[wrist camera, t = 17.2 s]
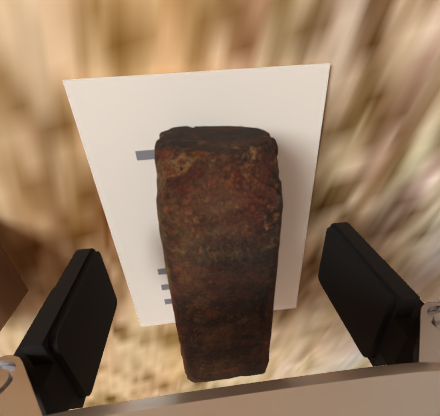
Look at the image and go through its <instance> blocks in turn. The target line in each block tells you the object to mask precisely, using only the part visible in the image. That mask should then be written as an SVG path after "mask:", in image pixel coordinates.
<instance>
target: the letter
mask: <svg viewBox="0 0 440 416" xmlns="http://www.w3.org/2000/svg"><path fill="white" fill-rule="evenodd" d="M329 70H330V63H324V64H308V65H292V66H276V67H260V68H244V69H228V70H212V71H196V72H180V73H164V74H148V75H132V76H116V77H100V78H84V79H68V80H63V84H64V87H65V90H66V93H67V96H68V99H69V102H70V106H71V109H72V112H73V115H74V118H75V121H76V124H77V128H78V131H79V134H80V137H81V140H82V143H83V146H84V150H85V153H86V156H87V159H88V162H89V165H90V168H91V171H92V175H93V178H94V181H95V184H96V187H97V190H98V193H99V197H100V200H101V203H102V206H103V209H104V212H105V215H106V219H107V222H108V225H109V228H110V231H111V234H112V237H113V241H114V244H115V247H116V250H117V253H118V256H119V259H120V262H121V266H122V269H123V272H124V275H125V278H126V281H127V284H128V288H129V291H130V294H131V297H132V300H133V303H134V306H135V310H136V313H137V316H138V319H139V322H140V325H141V327H144V326H152V325H160V324H168V323H176V322H175V316H174V311H173V306H172V300H171V294H170V289H169V283H168V277H167V273H166V268H165V261H164V253H163V247H162V242H161V238H160V232H159V221H158V216H157V205H156V197H157V182H156V180H157V172H156V166H155V160H154V157H155V148H154V147H155V143H156V141H157V140H158V139H159V134H160V133H161V132H163V131H166V130H169V129H171V128H173V127H180V126H189V127H192V128H194V127H195V126H243V127H252V128H259V129H263V130H265V131H266V132H268V133H269V134H270V137H272V138H274V139H275V140H276V142H277V145H278V155H277V160H278V169H279V179H280V180H281V184H282V198H283V211H282V225H281V233H280V245H279V253H278V268H277V277H276V287H275V296H274V309H273V311H274V310H282V309H290V308H296V304H297V297H298V290H299V283H300V276H301V269H302V262H303V255H304V248H305V240H306V233H307V226H308V219H309V212H310V205H311V198H312V191H313V184H314V177H315V170H316V162H317V155H318V148H319V141H320V134H321V127H322V120H323V113H324V106H325V99H326V92H327V84H328V77H329Z"/></svg>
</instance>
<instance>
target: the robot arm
mask: <svg viewBox="0 0 440 416" xmlns="http://www.w3.org/2000/svg"><path fill="white" fill-rule="evenodd" d="M318 277H319V281H320V284H321V285H322V287H323V289H324V290H325V292H326V294H327V296H328V297H329V299H330V301H331V302H332V304H333V306H334V308H335V309H336V311H337V313H338V314H339V316H340V318H341V320H342V321H343V323H344V325H345V326H346V328H347V330H348V332H349V333H350V335H351V337H352V338H353V340H354V342H355V344H356V345H357V347H358V349H359V350H360V352H361V354H362V355H363V356H364V357H368V359H369V361H370V362H371V364H372V366H373V367H367V368H359V369H351V370H344V371H336V372H329V373H321V374H314V375H306V376H299V377H292V378H284V379H277V380H270V381H263V382H256V383H249V384H241V385H234V386H227V387H220V388H213V389H206V390H199V391H192V392H185V393H178V394H172V395H165V396H158V397H151V398H144V399H137V400H130V401H124V402H117V403H111V404H105V405H99V406H93V407H87V408H82V407H83V405H84V401H85V398H86V396H89V395H90V394H91V392H92V389H93V386H94V382H95V379H96V376H97V372H98V369H99V365H100V362H101V358H102V355H103V351H104V348H105V344H106V341H107V338H108V334H109V331H110V327H111V324H112V320H113V317H114V313H115V310H116V306H117V299H116V295H115V293H114V290H113V287H112V284H111V282H110V279H109V276H108V273H107V271H106V268H105V265H104V262H103V259H102V257H101V254H100V252H98V251H97V252H96V251H95V250H94V249H93V248H91V249H81V250H77V251H76V252H75V254H74V255H73V257H72V259H71V261H70V262H69V264H68V266H67V267H66V269H65V271H64V273H63V274H62V276H61V278H60V280H59V281H58V283H57V285H56V286H55V287H54V288H53V290H52V291H51V292H50V294H49V296H48V297H47V299H46V301H45V303H44V304H43V306H42V308H41V309H40V311H39V313H38V314H37V316H36V318H35V320H34V321H33V323H32V325H31V326H30V328H29V330H28V331H27V333H26V335H25V337H24V338H23V340H22V342H21V343H20V345H19V347H18V348H17V350H16V352H15V354H14V355H8V356H3V357H0V416H440V302H429V303H426V304H424V303H423V302H422V301H421V300H420V299H419V298H420V297H419V296H418V295H417V294H416V293H415V292H414V291H413V290H412V289H411V288H410V287H409V286H408V285H407V284H406V282H405V281H404V280H403V279H402V278H401V277H400V276H399V275H398V274H397V273H396V272H395V271H394V270H393V269H392V268H391V267H390V266H389V265H388V264H387V263H386V262H385V261H384V260H383V259H382V258H381V257H380V255H379V254H378V253H377V252H376V251H375V250H374V249H373V248H372V247H371V246H370V245H369V244H368V243H367V242H366V241H365V240H364V239H363V238H362V237H361V236H360V235H359V234H358V233H357V232H356V231H355V230H354V229H353V227H352V226H351V225H350V224H349V223H347V222H343V223H333V224H332V225H331V226H330V227H329V228H327V231H326V236H325V242H324V247H323V253H322V258H321V263H320V269H319V274H318ZM381 365H385V366H381ZM374 366H376V367H374ZM75 408H81V409H75ZM69 409H75V410H69ZM68 410H69V411H68Z"/></svg>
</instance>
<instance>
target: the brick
mask: <svg viewBox="0 0 440 416" xmlns="http://www.w3.org/2000/svg"><path fill="white" fill-rule="evenodd" d="M154 148H155V157H154V160H155V166H156V172H157V180H156V182H157V197H156V205H157V216H158V221H159V232H160V238H161V242H162V247H163V253H164V261H165V268H166V273H167V277H168V283H169V289H170V294H171V300H172V306H173V311H174V316H175V322H176V327H177V331H178V336H179V341H180V345H181V355H182V358H183V363H184V369H185V373H186V375H187V378H188V379H189V380H190V381H192V382H194V383H197V382H208V381H215V380H222V379H230V378H234V377H238V376H251V375H258V374H263V373H265V371H266V368H267V366H268V362H269V347H270V339H271V329H272V319H273V309H274V296H275V287H276V277H277V268H278V253H279V245H280V233H281V225H282V211H283V198H282V184H281V180H280V179H279V169H278V160H277V155H278V145H277V142H276V140H275V139H274V138H272V137H270V134H269V133H268V132H266V131H265V130H263V129H259V128H252V127H243V126H195V127H194V128H192V127H189V126H180V127H173V128H171V129H169V130H166V131H163V132H161V133H160V134H159V139H158V140H157V141H156V143H155V147H154Z"/></svg>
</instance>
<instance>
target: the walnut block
mask: <svg viewBox="0 0 440 416" xmlns="http://www.w3.org/2000/svg"><path fill="white" fill-rule="evenodd" d="M27 292H28V289H27V288H26V286H25V284H24V283H23V281H22V280H21V278H20V276H19V275H18V273H17V271H16V270H15V268H14V266H13V265H12V263H11V262H10V260H9V258H8V257H7V255H6V253H5V252H4V250H3V249H2V247H1V245H0V331H1V329H2V328H3V327H4V325H5V324H6V322H7V321H8V319H9V318H10V316H11V315H12V313H13V312H14V311H15V309H16V308H17V306H18V305H19V303H20V302H21V300H22V299H23V297H24V296H25V295H26V293H27Z"/></svg>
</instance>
